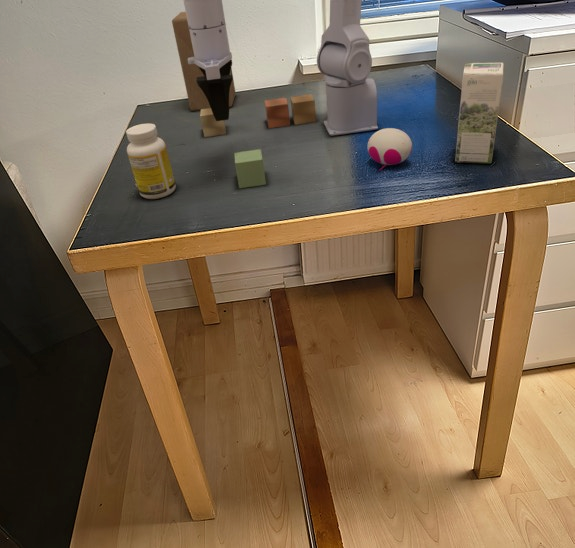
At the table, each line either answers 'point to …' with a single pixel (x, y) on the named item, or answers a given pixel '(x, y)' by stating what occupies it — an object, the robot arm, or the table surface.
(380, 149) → the stress ball
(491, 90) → the syrup box
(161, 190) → the pill bottle
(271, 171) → the table surface
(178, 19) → the wooden block
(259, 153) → the pale green cube
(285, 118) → the block line
